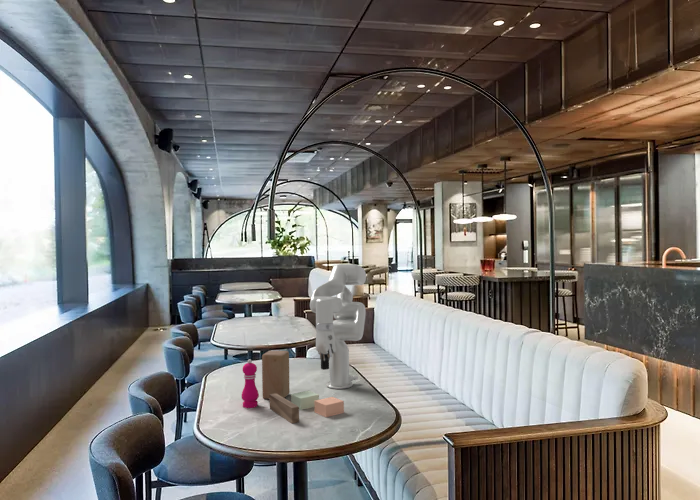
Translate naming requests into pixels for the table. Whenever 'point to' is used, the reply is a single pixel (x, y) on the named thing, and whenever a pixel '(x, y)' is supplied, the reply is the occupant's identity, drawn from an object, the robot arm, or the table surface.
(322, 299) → the robot arm
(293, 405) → the walnut board
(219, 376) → the table surface
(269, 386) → the wooden block
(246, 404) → the pepper mill
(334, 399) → the terracotta block
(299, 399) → the sage block
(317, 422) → the table surface
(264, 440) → the table surface
